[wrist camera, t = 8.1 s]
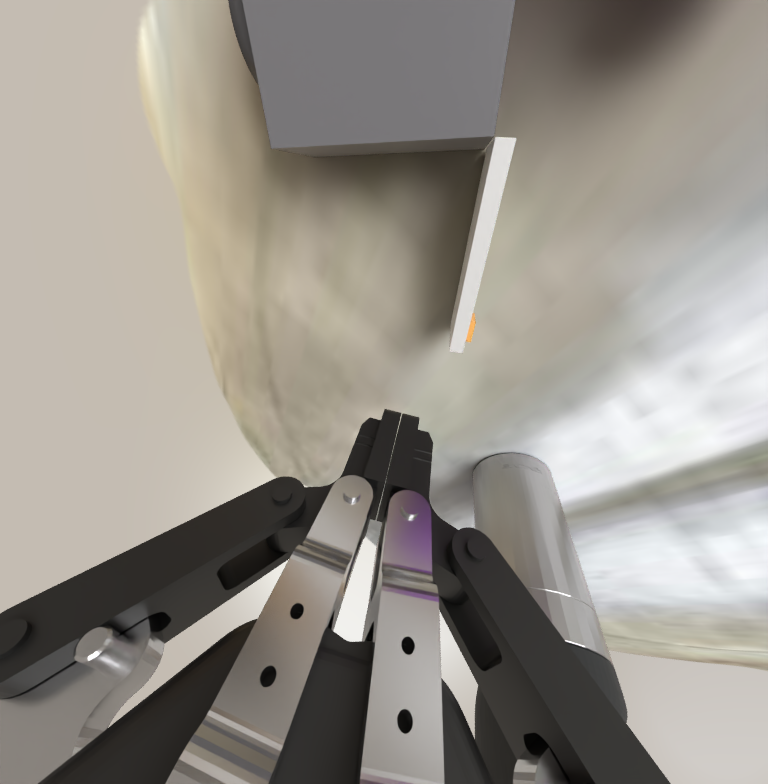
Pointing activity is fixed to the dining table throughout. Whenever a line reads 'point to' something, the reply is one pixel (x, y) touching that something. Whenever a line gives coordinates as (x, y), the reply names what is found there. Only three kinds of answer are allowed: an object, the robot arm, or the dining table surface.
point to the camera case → (376, 72)
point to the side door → (480, 239)
